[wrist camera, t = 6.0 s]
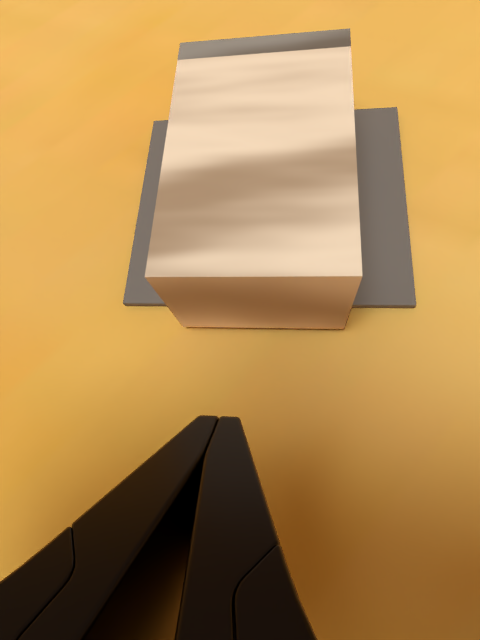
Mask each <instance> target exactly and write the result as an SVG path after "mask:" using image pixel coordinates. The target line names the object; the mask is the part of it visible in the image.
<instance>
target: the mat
mask: <svg viewBox="0 0 480 640" xmlns="http://www.w3.org/2000/svg"><path fill="white" fill-rule="evenodd" d="M354 118H355V138H356V158H357V177H358V197H359V217H360V236H361V256H362V279H361V282H360V285H359V288H358V291H357V293H356V296H355V299H354V302H353V305H352V307H360V308H415V306H416V298H415V288H414V277H413V267H412V257H411V246H410V236H409V226H408V215H407V205H406V194H405V184H404V174H403V163H402V153H401V143H400V132H399V122H398V112H397V107H392V108H374V109H357V110H354ZM167 127H168V120H164V121H154V124H153V130H152V136H151V141H150V147H149V153H148V159H147V165H146V171H145V177H144V183H143V188H142V194H141V200H140V206H139V212H138V218H137V224H136V230H135V236H134V241H133V247H132V253H131V259H130V265H129V271H128V277H127V283H126V288H125V294H124V300H123V304H124V305H125V306H167V305H166V304H165V303H164V302H163V300H162V299H161V298H160V296H159V295H158V294H157V292H156V291H155V290H154V289H153V287H152V286H151V285H150V283H149V282H148V281H147V280H146V278H145V271H146V265H147V258H148V251H149V245H150V238H151V232H152V225H153V219H154V212H155V206H156V199H157V192H158V186H159V179H160V173H161V166H162V160H163V153H164V146H165V140H166V133H167Z"/></svg>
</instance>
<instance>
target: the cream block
mask: <svg viewBox="0 0 480 640" xmlns="http://www.w3.org/2000/svg"><path fill="white" fill-rule="evenodd" d="M145 278H146V280H147V281H148V282H149V283H150V285H151V286H152V287H153V289H154V290H155V291H156V292H157V294H158V295H159V296H160V298H161V299H162V300H163V302H164V303H165V304H166V305H167V307H168V308H169V309H170V311H171V312H172V313H173V315H174V316H175V317H176V318H177V320H178V321H179V322H180V324H181V325H182V326H183V327H230V328H304V329H344V328H345V325H346V322H347V319H348V316H349V313H350V311H351V308H352V305H353V302H354V299H355V296H356V293H357V291H358V288H359V285H360V282H361V279H362V256H361V236H360V217H359V197H358V177H357V158H356V138H355V118H354V99H353V79H352V59H351V40H350V29H339V30H328V31H316V32H304V33H292V34H280V35H269V36H257V37H245V38H233V39H221V40H210V41H198V42H186V43H180V48H179V55H178V61H177V68H176V74H175V81H174V87H173V94H172V101H171V107H170V114H169V120H168V127H167V133H166V140H165V146H164V153H163V160H162V166H161V173H160V179H159V186H158V192H157V199H156V206H155V212H154V219H153V225H152V232H151V238H150V245H149V251H148V258H147V265H146V271H145Z"/></svg>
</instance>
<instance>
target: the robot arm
mask: <svg viewBox="0 0 480 640" xmlns="http://www.w3.org/2000/svg"><path fill="white" fill-rule="evenodd" d="M0 640H317V638H316V636H315V634H314V631H313V629H312V627H311V624H310V622H309V620H308V618H307V615H306V613H305V611H304V608H303V606H302V604H301V601H300V599H299V597H298V594H297V591H296V588H295V585H294V583H293V580H292V577H291V574H290V572H289V569H288V566H287V563H286V560H285V557H284V554H283V551H282V548H281V546H280V542H279V539H278V536H277V533H276V530H275V526H274V523H273V520H272V517H271V514H270V511H269V508H268V505H267V501H266V498H265V495H264V492H263V489H262V486H261V483H260V480H259V477H258V473H257V470H256V467H255V464H254V461H253V458H252V455H251V452H250V448H249V445H248V442H247V439H246V436H245V433H244V430H243V427H242V424H241V420H240V419H239V418H238V417H227V416H222V417H220V418H218V417H217V416H205V415H201V416H198V417H197V418H196V419H194V420H193V421H192V422H191V423H190V424H189V425H187V426H186V427H185V428H184V429H183V430H182V431H180V432H179V433H178V434H177V435H176V436H174V437H173V438H172V439H171V440H170V441H169V442H167V443H166V444H165V445H164V446H163V447H162V448H160V449H159V450H158V451H157V452H156V453H155V454H153V455H152V456H151V457H150V458H149V459H147V460H146V461H145V462H144V463H143V464H142V465H140V466H139V467H138V468H137V469H136V470H135V471H133V472H132V473H131V474H130V475H129V476H128V477H126V478H125V479H124V480H123V481H122V482H120V483H119V484H118V485H117V486H116V487H115V488H113V489H112V490H111V491H110V492H109V493H108V494H106V495H105V496H104V497H103V498H102V499H100V500H99V501H98V502H97V503H96V504H95V505H93V506H92V507H91V508H90V509H89V510H88V511H86V512H85V513H84V514H83V515H82V516H81V517H79V518H78V519H77V520H76V521H75V522H73V524H72V528H71V527H67V528H66V529H65V530H64V531H63V532H61V533H60V534H59V535H58V536H57V537H56V538H54V539H53V540H52V541H51V542H50V543H48V544H47V545H46V546H45V547H44V548H42V549H41V550H40V551H39V552H37V553H36V554H35V555H34V556H33V557H31V558H30V559H29V560H28V561H26V562H25V563H24V564H23V565H22V566H20V567H19V568H18V569H16V570H15V571H14V572H12V573H11V574H10V575H8V576H7V577H6V578H4V579H3V580H2V581H0Z"/></svg>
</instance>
